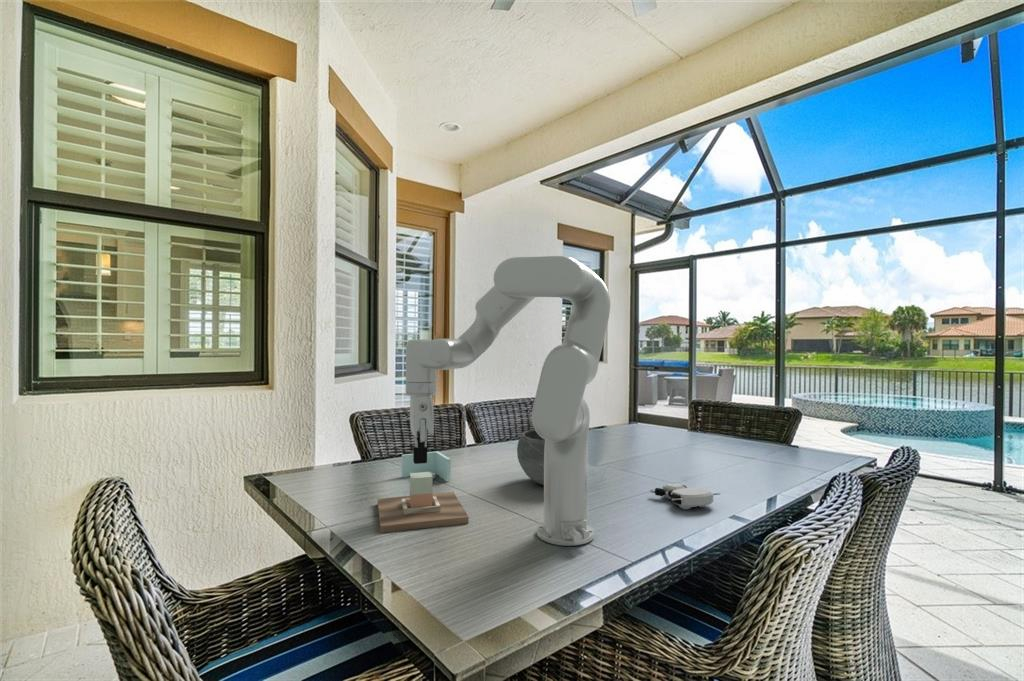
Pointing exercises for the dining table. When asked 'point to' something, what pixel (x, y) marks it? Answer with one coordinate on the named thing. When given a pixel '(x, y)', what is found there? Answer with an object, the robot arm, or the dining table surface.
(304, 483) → the dining table surface
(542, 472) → the bowl
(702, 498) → the robot toy
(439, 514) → the walnut board
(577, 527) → the robot arm
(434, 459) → the right angle wall
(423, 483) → the stack block
